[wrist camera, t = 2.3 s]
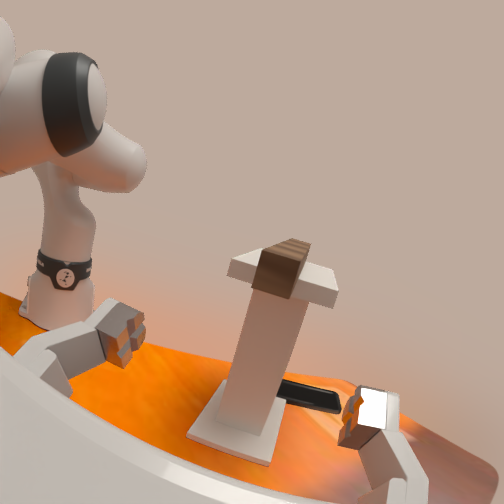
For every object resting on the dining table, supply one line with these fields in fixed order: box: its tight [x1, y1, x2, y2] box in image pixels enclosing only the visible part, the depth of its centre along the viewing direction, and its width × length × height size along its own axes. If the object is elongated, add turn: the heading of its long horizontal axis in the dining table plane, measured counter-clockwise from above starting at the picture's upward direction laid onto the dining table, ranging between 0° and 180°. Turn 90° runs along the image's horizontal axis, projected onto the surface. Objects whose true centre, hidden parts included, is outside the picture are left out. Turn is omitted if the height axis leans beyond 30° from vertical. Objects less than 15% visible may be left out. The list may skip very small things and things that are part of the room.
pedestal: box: [186, 248, 339, 466], centre depth 44 cm, size 18×12×26 cm, turn 166°
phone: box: [276, 379, 342, 414], centre depth 58 cm, size 8×1×15 cm
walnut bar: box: [251, 238, 311, 300], centre depth 37 cm, size 26×3×3 cm, turn 166°
